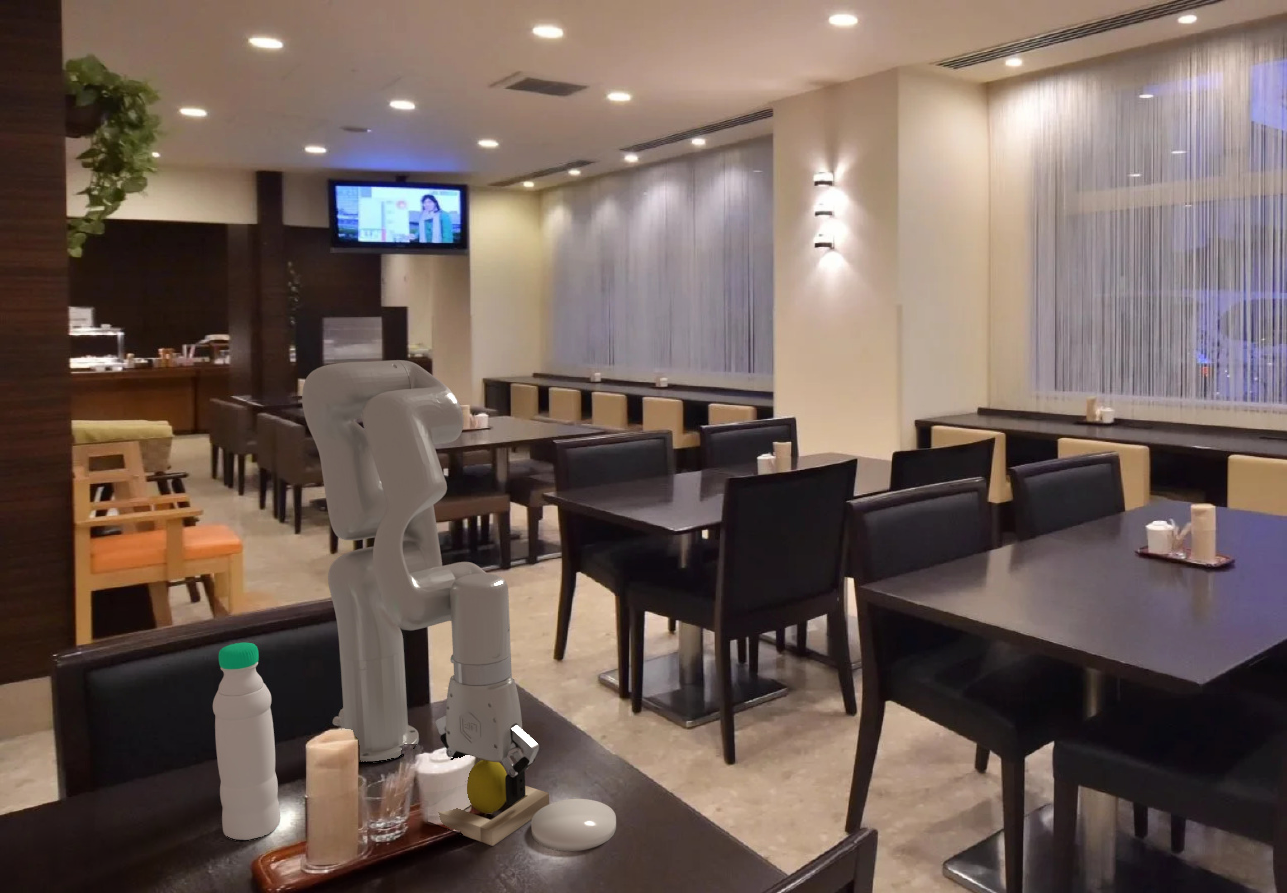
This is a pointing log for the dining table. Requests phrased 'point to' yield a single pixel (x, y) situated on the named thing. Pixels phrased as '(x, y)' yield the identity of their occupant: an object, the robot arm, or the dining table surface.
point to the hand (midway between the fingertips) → (488, 791)
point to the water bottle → (245, 746)
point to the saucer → (573, 824)
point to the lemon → (487, 786)
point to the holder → (496, 818)
